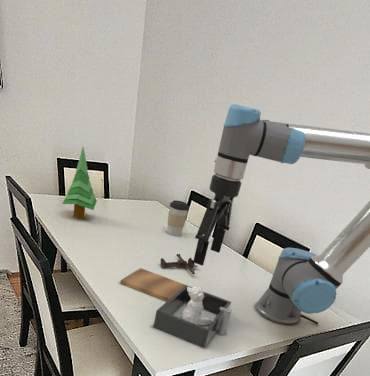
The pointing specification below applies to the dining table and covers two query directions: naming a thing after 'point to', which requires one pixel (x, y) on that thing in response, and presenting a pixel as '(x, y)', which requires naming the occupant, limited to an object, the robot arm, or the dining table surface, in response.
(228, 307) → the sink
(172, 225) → the coffee cup
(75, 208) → the decorative tree
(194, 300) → the white creature statuette
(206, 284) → the dining table surface
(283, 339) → the dining table surface
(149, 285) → the board
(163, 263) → the brown humanoid figurine
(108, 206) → the dining table surface
